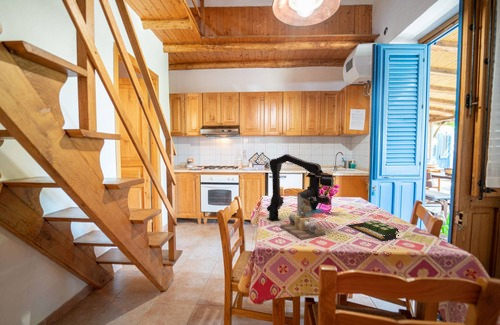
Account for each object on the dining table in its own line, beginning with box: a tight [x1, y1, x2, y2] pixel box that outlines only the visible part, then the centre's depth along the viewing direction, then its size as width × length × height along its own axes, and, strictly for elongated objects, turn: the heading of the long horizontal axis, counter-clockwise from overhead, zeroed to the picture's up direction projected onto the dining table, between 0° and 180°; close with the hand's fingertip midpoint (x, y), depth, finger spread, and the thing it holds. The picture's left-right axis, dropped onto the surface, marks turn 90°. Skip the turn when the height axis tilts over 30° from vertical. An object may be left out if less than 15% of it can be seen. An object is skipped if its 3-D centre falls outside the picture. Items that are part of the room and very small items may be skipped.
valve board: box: [279, 213, 326, 241], centre depth 128 cm, size 20×16×9 cm
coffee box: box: [296, 191, 314, 218], centre depth 156 cm, size 9×6×16 cm
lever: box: [299, 207, 323, 215], centre depth 130 cm, size 15×3×2 cm, turn 115°
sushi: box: [345, 220, 399, 242], centre depth 131 cm, size 25×25×4 cm
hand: (313, 211), depth 134 cm, fingers closed
